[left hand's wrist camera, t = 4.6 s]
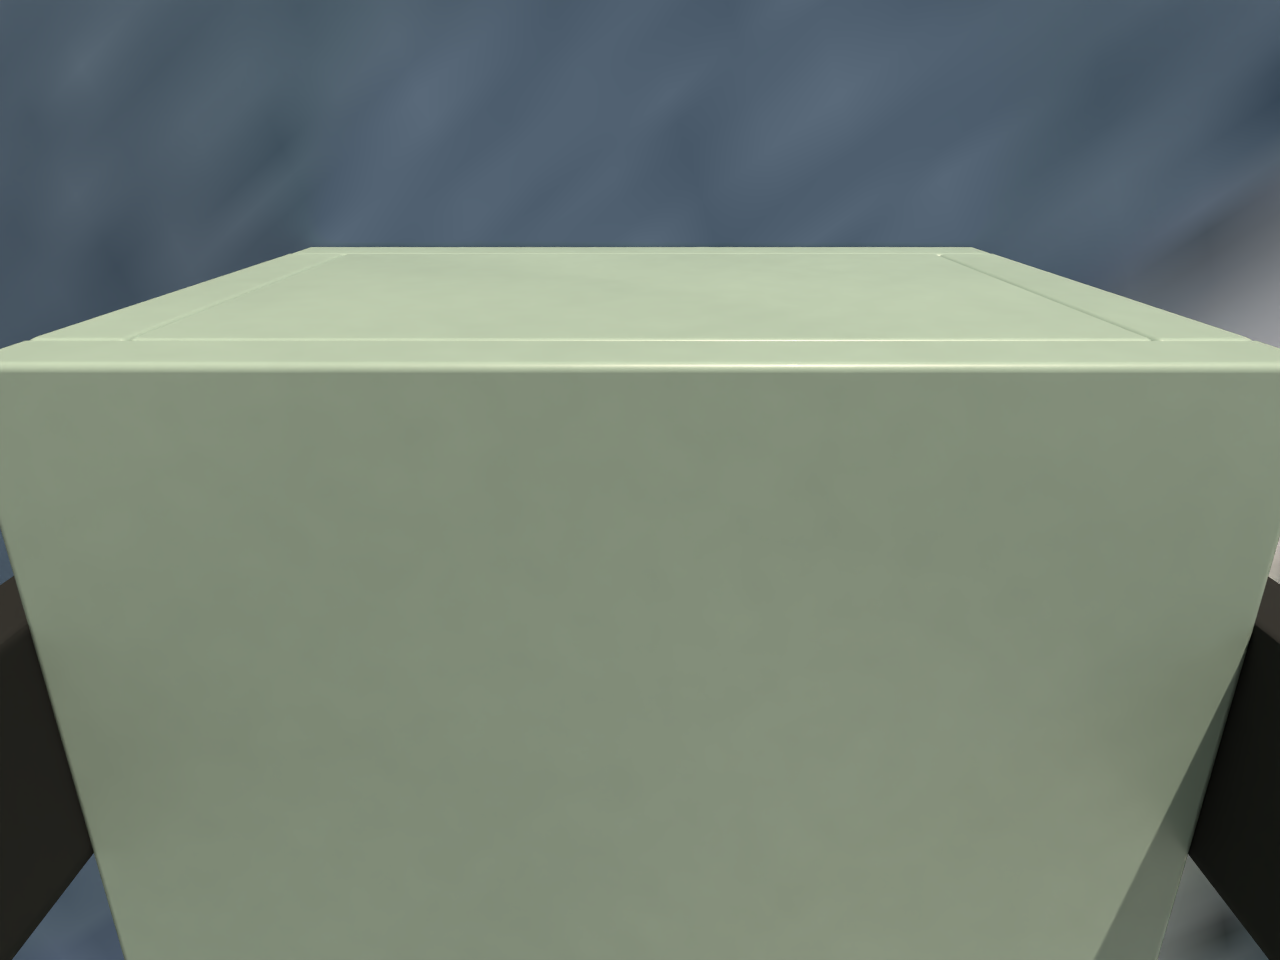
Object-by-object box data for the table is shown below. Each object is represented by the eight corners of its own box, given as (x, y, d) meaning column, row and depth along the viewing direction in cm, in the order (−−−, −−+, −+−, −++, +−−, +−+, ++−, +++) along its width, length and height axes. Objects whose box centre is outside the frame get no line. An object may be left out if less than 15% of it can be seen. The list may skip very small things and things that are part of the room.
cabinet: (866, 1057, 22) (988, 1553, 14) (415, 1057, 22) (292, 1552, 14) (975, 246, 15) (1335, 362, 7) (307, 246, 15) (-54, 363, 7)
